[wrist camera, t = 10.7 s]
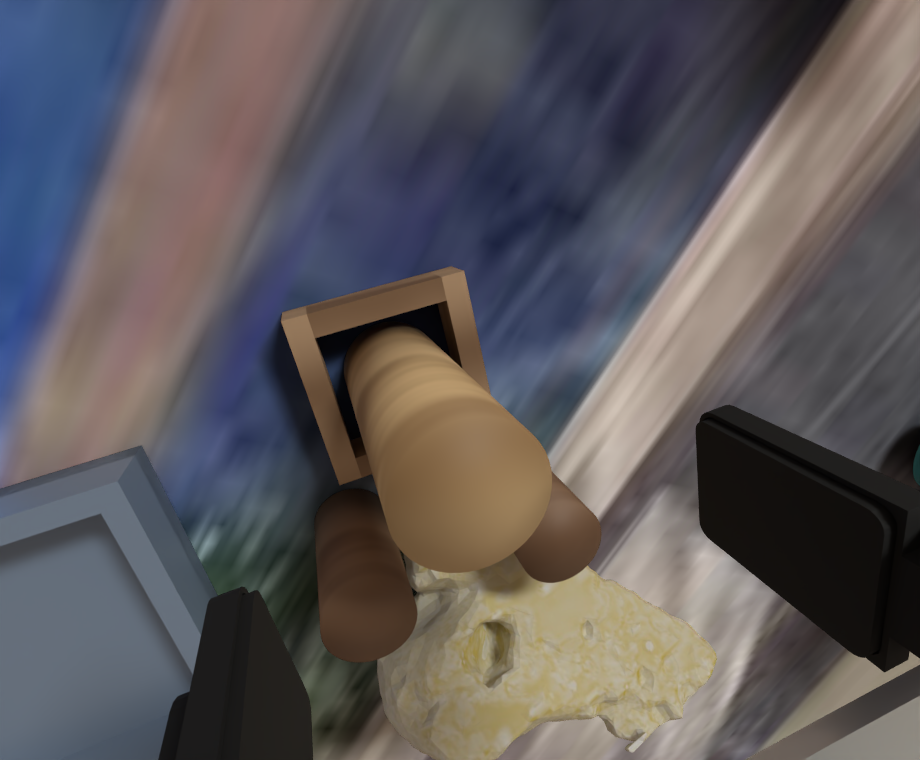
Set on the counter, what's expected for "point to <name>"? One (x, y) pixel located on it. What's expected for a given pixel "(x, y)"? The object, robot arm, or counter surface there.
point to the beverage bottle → (917, 466)
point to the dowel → (443, 453)
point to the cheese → (534, 660)
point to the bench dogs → (384, 576)
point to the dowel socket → (365, 308)
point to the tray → (95, 612)
